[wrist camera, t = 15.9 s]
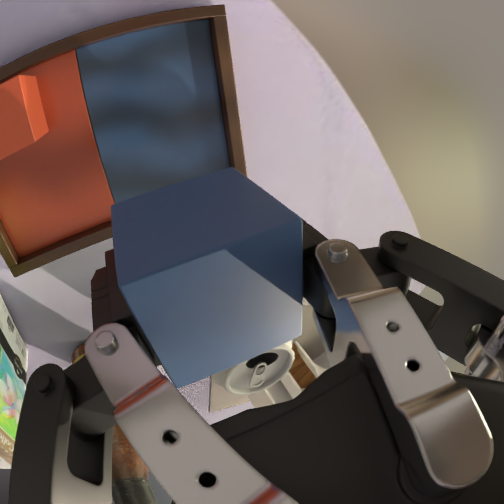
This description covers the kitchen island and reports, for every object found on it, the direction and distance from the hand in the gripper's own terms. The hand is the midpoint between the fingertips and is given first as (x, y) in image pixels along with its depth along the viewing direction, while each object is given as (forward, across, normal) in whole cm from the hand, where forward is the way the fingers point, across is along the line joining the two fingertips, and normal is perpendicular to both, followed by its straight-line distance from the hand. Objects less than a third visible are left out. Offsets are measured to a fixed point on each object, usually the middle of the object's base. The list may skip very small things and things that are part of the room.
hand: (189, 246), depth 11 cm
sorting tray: (+15, +3, -3) cm, 15 cm away
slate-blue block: (+1, 0, 0) cm, 1 cm away
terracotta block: (+14, +9, -7) cm, 18 cm away
